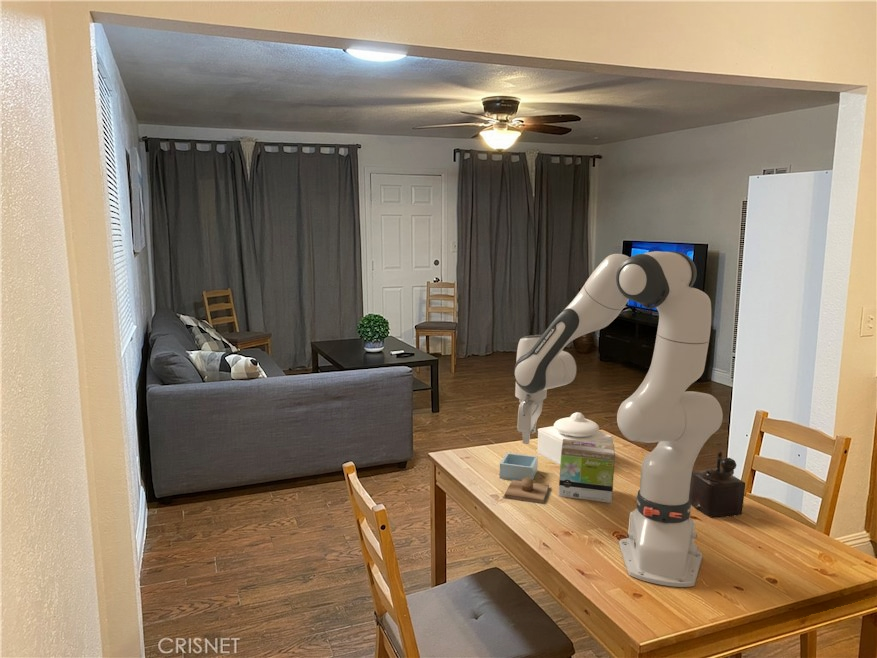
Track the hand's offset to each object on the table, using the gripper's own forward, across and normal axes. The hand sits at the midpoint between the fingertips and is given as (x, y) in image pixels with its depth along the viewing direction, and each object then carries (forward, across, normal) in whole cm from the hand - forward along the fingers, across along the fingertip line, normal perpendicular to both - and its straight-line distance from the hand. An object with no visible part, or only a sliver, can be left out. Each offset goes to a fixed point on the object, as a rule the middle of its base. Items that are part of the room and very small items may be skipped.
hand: (529, 437), depth 180 cm
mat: (+17, 0, 0) cm, 17 cm away
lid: (+17, 0, 0) cm, 17 cm away
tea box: (+17, +6, -16) cm, 24 cm away
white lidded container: (+18, +35, -10) cm, 40 cm away
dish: (+17, +13, +5) cm, 22 cm away
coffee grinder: (+17, +6, -52) cm, 55 cm away
